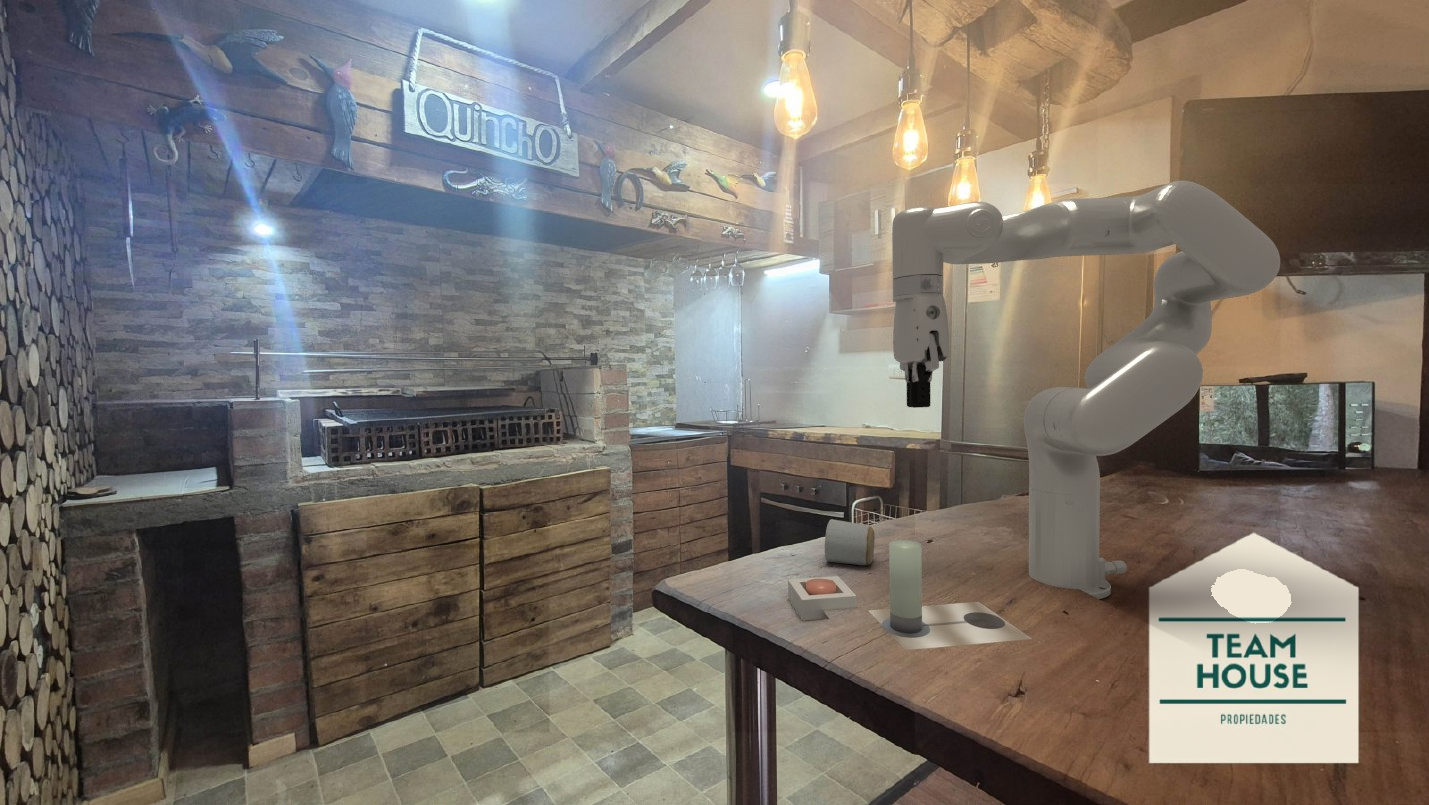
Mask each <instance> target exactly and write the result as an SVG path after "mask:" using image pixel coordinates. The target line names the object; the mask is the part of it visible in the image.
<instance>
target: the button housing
mask: <svg viewBox="0 0 1429 805" xmlns="http://www.w3.org/2000/svg"><path fill="white" fill-rule="evenodd" d="M811 579H828V580H831V581H833V582H835V583H836V593H835V594H822V595H808V593H807V592H806V582H807V581H809V580H811ZM787 584H788V585H787V590H788V592H787V594H788V595H787V596H788V597H787V598H788V601H789V602H790V604H791V605H792V606H793V608H794V609H795V612H796V613H797V614H798V617H799V618H800V619H801V621H802V622H803V621H816V620H817V621H818V620H827V619H830V617H829V616H828V615H827V614H826V612H825V611H831V610H833V611H834V610H843V609H856V608H858V604H857V603H858V602H857V601H858V600H857V599H858V598H857V597H858V596H857V595H856V593H854V591H852V590H851V588H850V587H849V586H848V585H847V584H846V583H845V581H843V579H841V578H840V577H839V576H838V575H833V576H822V577H821V576H820V577H818V576H817V577H808V578H807V577H806V578H793V579H788V580H787Z"/></svg>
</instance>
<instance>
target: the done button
mask: <svg viewBox="0 0 1429 805" xmlns="http://www.w3.org/2000/svg"><path fill="white" fill-rule="evenodd" d="M806 592H807V593H808V595H822V594H835V593H836V583H835V582H833V581H831V580H828V579H811V580H809V581H807V582H806Z"/></svg>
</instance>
